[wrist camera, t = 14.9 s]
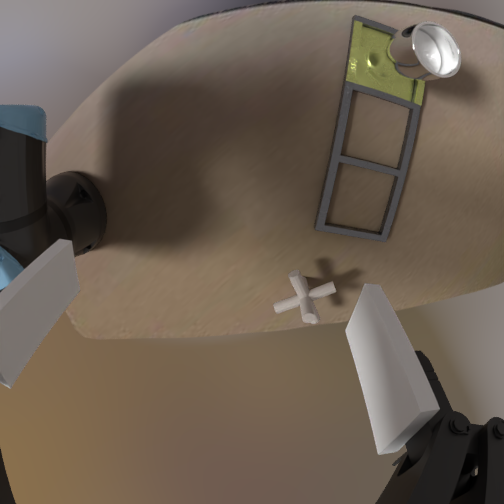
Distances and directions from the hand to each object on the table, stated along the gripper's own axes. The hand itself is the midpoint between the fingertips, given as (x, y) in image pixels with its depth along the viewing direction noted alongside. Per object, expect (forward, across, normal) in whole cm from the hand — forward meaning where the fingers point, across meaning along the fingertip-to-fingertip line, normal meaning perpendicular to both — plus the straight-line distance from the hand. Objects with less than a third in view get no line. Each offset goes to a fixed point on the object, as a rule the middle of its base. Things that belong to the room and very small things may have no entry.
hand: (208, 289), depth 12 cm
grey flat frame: (+33, +18, +8) cm, 38 cm away
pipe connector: (+33, +12, -19) cm, 40 cm away
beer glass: (+33, +18, +19) cm, 42 cm away
